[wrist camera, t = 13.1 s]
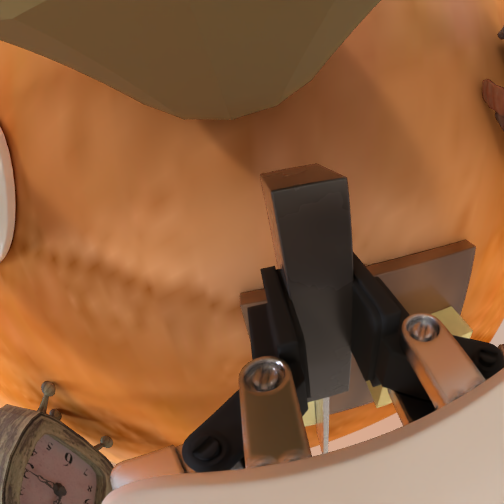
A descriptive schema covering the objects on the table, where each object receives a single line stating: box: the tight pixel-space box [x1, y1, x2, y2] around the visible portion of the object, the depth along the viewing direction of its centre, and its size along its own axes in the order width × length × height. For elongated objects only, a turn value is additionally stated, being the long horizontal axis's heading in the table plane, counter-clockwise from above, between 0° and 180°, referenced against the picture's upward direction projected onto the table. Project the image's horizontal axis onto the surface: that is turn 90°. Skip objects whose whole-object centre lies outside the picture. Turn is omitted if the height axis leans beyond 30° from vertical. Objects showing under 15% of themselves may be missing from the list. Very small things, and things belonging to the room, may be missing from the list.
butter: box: [366, 306, 473, 408], centre depth 16 cm, size 7×5×3 cm
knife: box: [260, 164, 353, 454], centre depth 12 cm, size 2×18×3 cm, turn 12°
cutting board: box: [240, 240, 476, 415], centre depth 18 cm, size 16×14×1 cm
